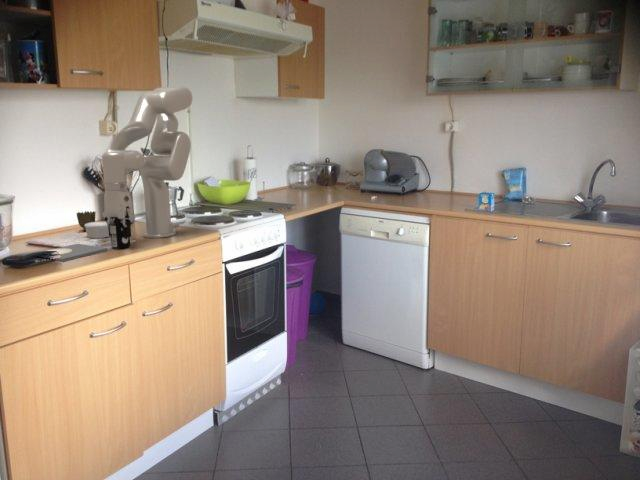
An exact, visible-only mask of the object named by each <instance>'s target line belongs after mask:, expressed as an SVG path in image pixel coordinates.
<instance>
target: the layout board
mask: <svg viewBox="0 0 640 480" xmlns="http://www.w3.org/2000/svg"><path fill="white" fill-rule="evenodd" d="M108 250H109V248H108V247H102V246H97V245H96V246H94V245H90V244H89V245H87V244H82V243H74V244H70V245H65V246H60V247H56V248H52V249H48V250H45V251H57V252H59V254H60V256H61V257H60V258H58V259H57V260H55V261H56V262H63V263H64V262H67V261H68V262H69V261H72V260H75V259H80V258H84V257H88V256H92V255H96V254H101V253H105V252H108Z"/></svg>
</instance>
